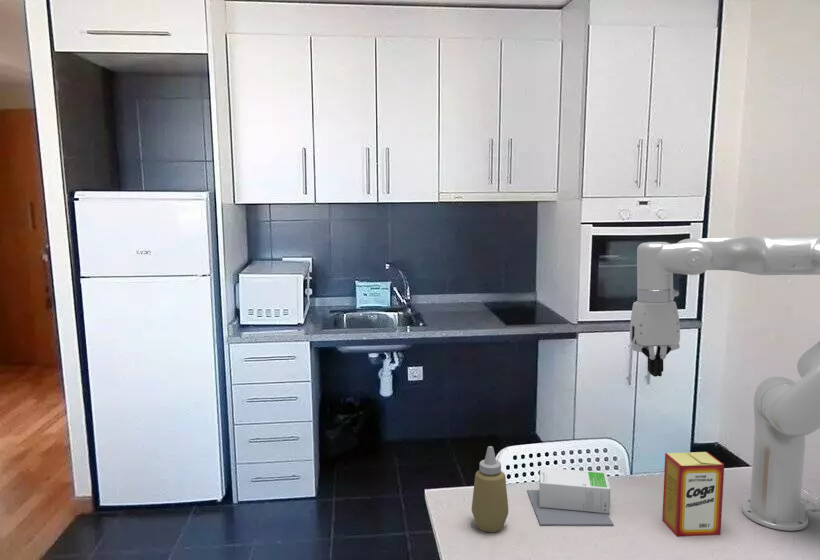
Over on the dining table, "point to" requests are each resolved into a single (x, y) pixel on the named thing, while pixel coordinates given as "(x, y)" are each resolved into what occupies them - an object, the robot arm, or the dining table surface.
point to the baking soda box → (693, 494)
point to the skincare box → (574, 490)
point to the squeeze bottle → (490, 494)
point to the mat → (566, 515)
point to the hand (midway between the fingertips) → (655, 374)
